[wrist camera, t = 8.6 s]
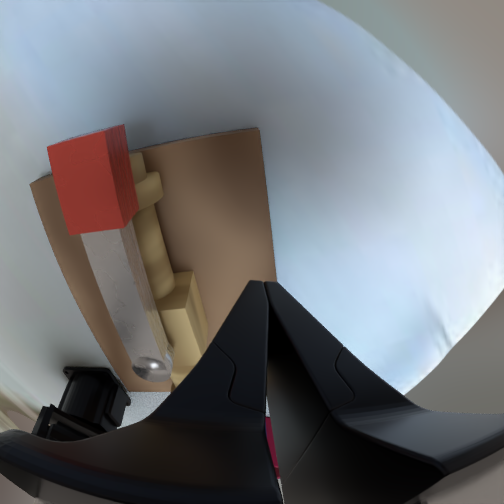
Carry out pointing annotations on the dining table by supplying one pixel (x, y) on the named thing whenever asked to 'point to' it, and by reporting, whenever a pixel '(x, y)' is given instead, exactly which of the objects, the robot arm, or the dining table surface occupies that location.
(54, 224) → the valve board
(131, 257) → the lever
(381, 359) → the dining table surface
